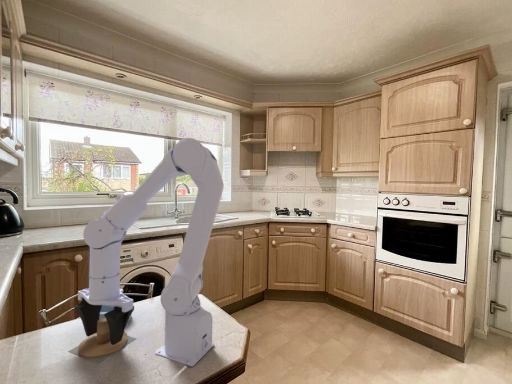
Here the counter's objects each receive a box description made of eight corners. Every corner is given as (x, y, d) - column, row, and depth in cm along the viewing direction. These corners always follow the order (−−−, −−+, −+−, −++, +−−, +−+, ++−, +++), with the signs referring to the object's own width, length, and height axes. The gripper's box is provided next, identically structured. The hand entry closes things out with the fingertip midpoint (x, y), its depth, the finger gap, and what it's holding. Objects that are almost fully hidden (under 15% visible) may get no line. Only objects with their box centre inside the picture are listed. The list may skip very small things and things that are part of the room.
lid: (136, 338, 57) (136, 315, 57) (98, 363, 49) (98, 335, 49) (108, 329, 61) (108, 307, 61) (68, 351, 52) (68, 325, 52)
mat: (136, 340, 57) (136, 338, 57) (98, 365, 49) (98, 363, 49) (108, 331, 61) (108, 329, 61) (68, 353, 52) (68, 351, 52)
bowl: (138, 317, 68) (138, 301, 68) (107, 334, 59) (107, 316, 59) (114, 310, 71) (114, 296, 71) (81, 326, 63) (82, 309, 63)
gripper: (145, 273, 56) (144, 336, 56) (99, 265, 61) (98, 322, 61) (116, 284, 49) (115, 354, 49) (68, 274, 55) (67, 337, 55)
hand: (103, 338), depth 55 cm, fingers open, 7 cm apart
